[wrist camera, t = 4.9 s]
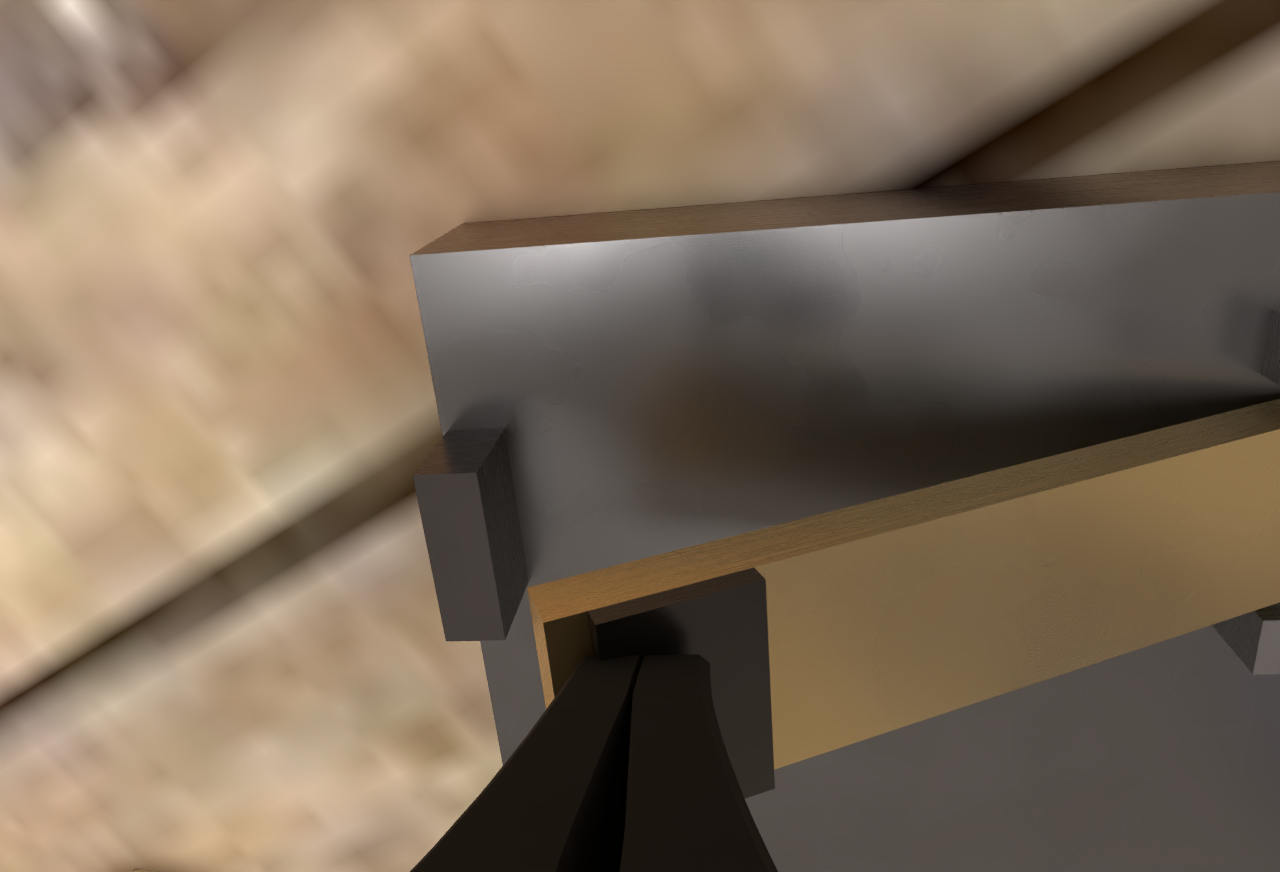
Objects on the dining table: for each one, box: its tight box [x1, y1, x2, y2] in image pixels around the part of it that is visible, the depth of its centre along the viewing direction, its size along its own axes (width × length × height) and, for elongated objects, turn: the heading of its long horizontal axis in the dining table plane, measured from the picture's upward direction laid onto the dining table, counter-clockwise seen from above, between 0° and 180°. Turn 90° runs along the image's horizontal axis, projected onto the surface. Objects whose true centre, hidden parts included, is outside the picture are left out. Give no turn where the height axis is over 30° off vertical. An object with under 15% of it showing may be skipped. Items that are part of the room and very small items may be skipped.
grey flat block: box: [410, 161, 1280, 872], centre depth 18 cm, size 15×23×5 cm, turn 5°
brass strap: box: [527, 399, 1280, 799], centre depth 12 cm, size 12×3×1 cm, turn 96°
